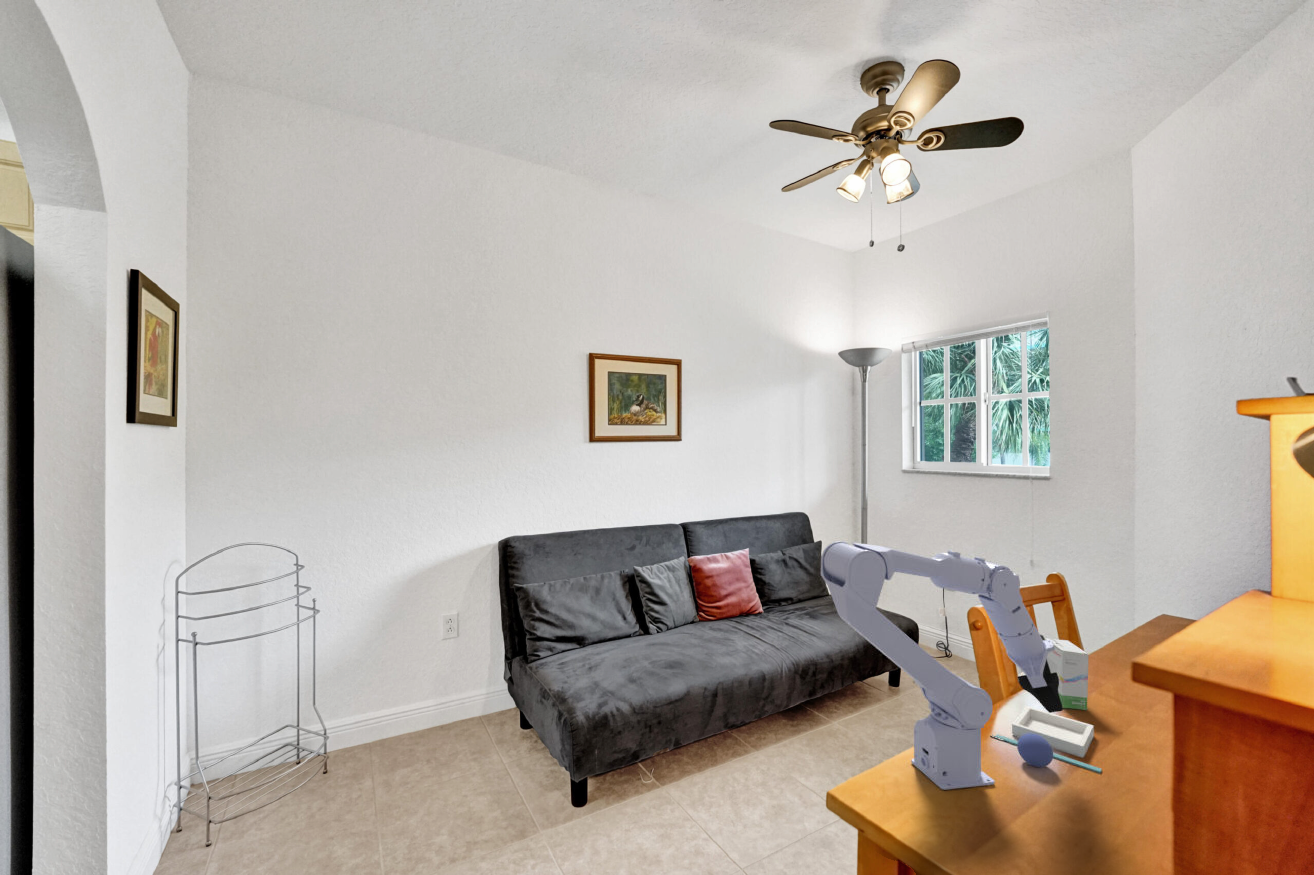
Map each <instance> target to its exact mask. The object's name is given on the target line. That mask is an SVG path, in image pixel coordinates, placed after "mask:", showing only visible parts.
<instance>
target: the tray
mask: <svg viewBox="0 0 1314 875" xmlns="http://www.w3.org/2000/svg"><path fill="white" fill-rule="evenodd" d="M1094 726H1095V725H1094V724H1093V725H1092V724H1090V723H1087V722H1083V721H1079V720H1076V719H1072V718H1069V717H1066V716H1061V715H1058V714H1055V713H1053V712H1051V713H1049V712H1048V711H1045V710H1041V709H1038V708H1034V707H1031V706H1027V705H1026V706H1025V707H1024V709H1023V710H1022V711H1021V712H1020V714H1019V715H1018V716H1017V718H1016V719H1015V720H1014V721H1013V722H1012V723H1011V735H1012V734H1013V735H1012V736H1014V735H1015V736H1014V737H1017V738H1020V737H1021V736H1022V735H1024V734H1027V733H1034V734H1037V735H1040V736H1041V737H1043V738H1044V739H1045V740H1047V742H1048V743H1049V744H1050V746H1051V748H1052V749H1054V750H1057V751H1060V752H1064V753H1066V754H1069V755H1073V756H1076V757H1078V758H1082V759H1084V758H1085V756H1086V754H1087V752H1088V749H1089V747H1090V746H1091V743H1092V741H1093V739H1094V737H1095V734H1094V733H1095V731H1094V730H1095V729H1094V728H1095V727H1094Z"/></svg>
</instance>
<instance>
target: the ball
mask: <svg viewBox="0 0 1314 875" xmlns="http://www.w3.org/2000/svg"><path fill="white" fill-rule="evenodd" d="M1017 741H1018V743H1017V745H1016V746H1017V751H1018V754H1019V755H1020V757H1021V758H1022V760H1023V761H1025V763H1027V764H1028V765H1030V766H1033V767H1034V768H1035V767H1036V768H1045V767H1047V766H1048V765H1050V764H1051V763H1052V761H1053V753H1054V751H1053V748H1051V746H1050V744H1049V743H1048V742H1047V740H1045V739H1044V738H1043V737H1041V736H1040V735H1037V734H1034V733H1027V734H1024V735H1022V736H1021V737H1018V740H1017Z"/></svg>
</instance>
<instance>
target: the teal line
mask: <svg viewBox="0 0 1314 875" xmlns="http://www.w3.org/2000/svg"><path fill="white" fill-rule="evenodd" d="M992 736H993V735H992ZM994 737H997V738H1000V739H1003V740H1004V741H1003V742H1005V741H1007V742H1006V743H1008V742H1010V743H1009V744H1011V743H1012V744H1011V745H1014V746H1017V743H1018V740H1016V739H1014V738H1013V739H1012V738H1010V737H1006V736H1003V735H1000V734H998V735H996V736H994ZM1053 758H1054V759H1056V760H1059V761H1062V762H1066V763H1068V764H1071V765H1073V766H1074V765H1075V766H1078V767H1080V768H1083V769H1085V770H1088V771H1091V772H1095V773H1098V774H1102V768H1101V767H1097V766H1095V765H1092V764H1089V763H1085V762H1082V761H1079V760H1076V759H1073V758H1070V757H1068V756H1064V755H1061V754H1058V753H1054V752H1053Z"/></svg>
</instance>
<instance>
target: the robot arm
mask: <svg viewBox="0 0 1314 875" xmlns="http://www.w3.org/2000/svg"><path fill="white" fill-rule="evenodd" d="M851 544H852V545H851ZM851 544H849V543H847V542H845V541H840V540H839V541H838V540H837V541H833V542H831V543H830V544H828V545H827V546H826V547H825V548H824V549H823V552H822V553H821V558H820V560H821V561H820V576H821V577H822V579H823V581H824V583H826V585H827V588H828V590H829V593H830V595H831V596H830V597H831V598H832V601H833V603H834V606H835V609H836V611H837V612H836V613H837V615H838V616H839V617H840V619H841V620H842V621H843V622H845V623H846V624H847V625H848V626H849V627H851V628H852V629H853V630H854V631H855V632H857V633H858V634H859V635H860V636H862V637H863V638H864V639H865V640H866V641H868V642H869V643H870V644H871V645H872V646H873V647H875V649H877V650H878V651H879V652H881V653H882V654H883V655H884V656H886V658H888V659H889V660H890V661H891V662H893V663H894V664H895V665H896V666H897V667H898V668H900V669H901V670H902V671H903V672H904V673H905V674H907V675H908V676H909V677H911V679H913V682H914V683H915V684H916V685H918V687H919V689H920V690H921V693H922V695H923V697H924V698H925V699H926V700H927V701H928V709H929V710H930V713H929V714H928V715H927V716H925V717H924V718H920V719H918V720H917V721H916V722H915V724H914V727H913V740H914V741H913V750H914V751H913V758H911V762H910V763H911V764H913V766H915V767H916V768H917V769H918V770H920V772H922V774H924V775H925V776H926V777H927V778H928V779H929V780H930V781H932V782H933V783H934V784H935V785H936V786H938V788H939V789H941V790H954V789H963V788H964V789H965V788H972V787H980V786H981V787H982V786H990V785H995V780H994V779H993V778H992V777H991V776H989V775H988V774H987V773H985V772H984V771H983V770H982V729H984V728H985V725H986V724H987V723H988V721H989V720H990V718H991V716H992V713H993V700H992V697H991V696H990V694H989V693H988V692H987V690H985V689H983V688H981V687H979V686H975V685H974V684H972V683H970V682H969V681H967V680H966V679H963V678H962V677H960V676H958V675H957V674H955V673H953V672H952V671H950V670H949V669H948V668H946V667H945V666H944V665H942V664H941V663H940V662H939V661H937V659H936V658H934V657H933V656H932V655H931V654H930V653H928V652H927V651H926V650H925V649H923V647H921V646H920V645H919V644H918V643H917V642H915V641H914V640H913V639H912V638H910V637H909V636H908V635H907V634H906V633H905V632H904V631H902V629H900V628H899V627H898V626H897V625H895V624H894V623H893V622H892V621H891V620H889V619H888V618H887V617H886V616H885V615H883V614H882V613H881V612H880V611H879V610H877V606H878V602H879V600H880V596H881V593H882V589H883V586H884V583H885V580H886V581H890V580H891V579H892V578H893V576H894V574H895V573H898V574H899V573H901V574H907V575H913V576H917V577H918V576H919V577H925V578H929V579H930V581H931V583H933V585H934V586H936V587H937V588H940V589H945V590H950V591H955V592H960V593H966V594H970V595H977V596H978V599H979V601H980V603H981V605H982V606H983V608H984V610H985V612H986V615H987V616H988V617H989V620H990V622H991V623H992V626H993V628H994V630H995V631H996V634H998V638H1000V641H1001V643H1002V644H1003V646H1004V648H1005V651H1006V654H1007V656H1008V659H1009V660H1011V661H1012V663H1013V664H1015V665H1016V666H1017V667H1018V668H1019V670H1020V671H1021V672H1022V673H1023V674H1024V675H1018V676H1017V681H1018V684H1019V686H1020V687H1021V688H1022V689H1023V690H1024V691H1026V692H1028V693H1029V694H1030V695H1031V696H1033V697H1034V698H1035V699H1036V700H1037V701H1038V702H1039V703H1040V704H1041V706H1042V707H1043V708H1044V709H1045V710H1046V712H1048V713H1055V712H1063V711H1064V708H1063V707H1062V703H1061V700H1060V697H1059V693H1058V686H1059V678H1058V675H1057V672H1055V673H1051V671H1050V668H1049V665H1048V662H1047V655H1048V652H1050V651H1054V650H1055V647H1054V644H1053V642H1052V641H1051V640H1046V641H1045V639H1046V638H1045V637H1044V635H1042V634H1040V632H1039V630H1038V629H1037V627H1036V625H1035V623H1034V621H1033V619H1032V617H1031V615H1030V613H1029V611H1028V609H1027V607H1026V606H1025V603H1024V602H1023V597H1022V594H1021V592H1020V587H1021V580H1020V576H1019V575H1018V574H1016V573H1014V571H1012V570H1011V569H1010V568H1009V567H1008V566H1005V565H1002V564H1001V565H1000V564H997V563H993V562H990V561H986V559H985V558H982V557H978V556H975V557H974V558H971V557H964V556H961V553H960V552H959V551H954V550H951V549H950V550H949V549H948V550H947V552H939V553H937V554H936V555H934V556H933V557H928V556H923V555H919V554H916V553H911V552H906V551H903V550H899V549H895V548H891V547H886V546H882V545H876V544H875V545H874V544H867V543H861V542H860V543H859V542H852V543H851Z"/></svg>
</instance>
